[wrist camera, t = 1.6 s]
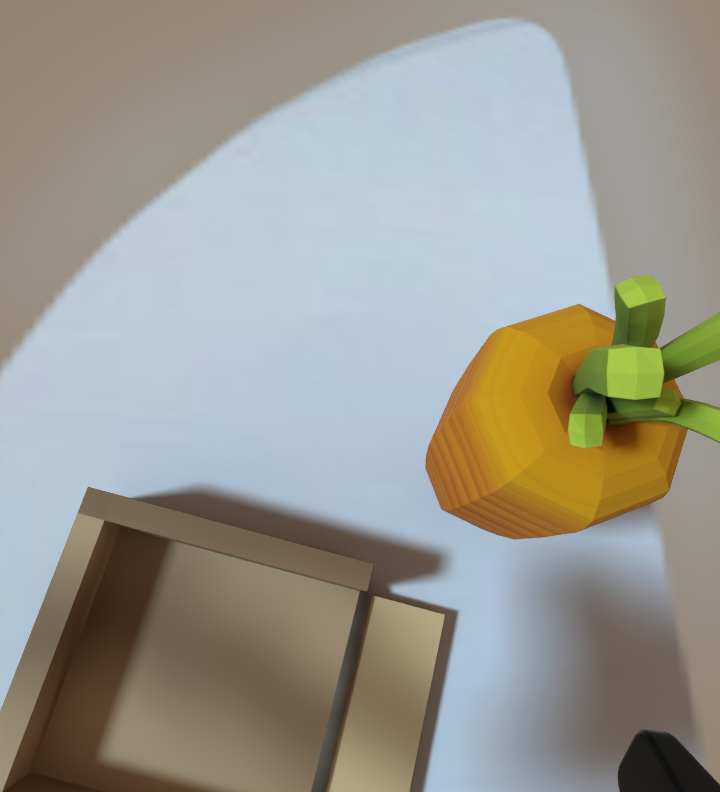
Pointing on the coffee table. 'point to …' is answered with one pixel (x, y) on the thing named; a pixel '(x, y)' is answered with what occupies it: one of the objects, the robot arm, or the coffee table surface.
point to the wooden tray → (213, 665)
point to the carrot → (571, 418)
